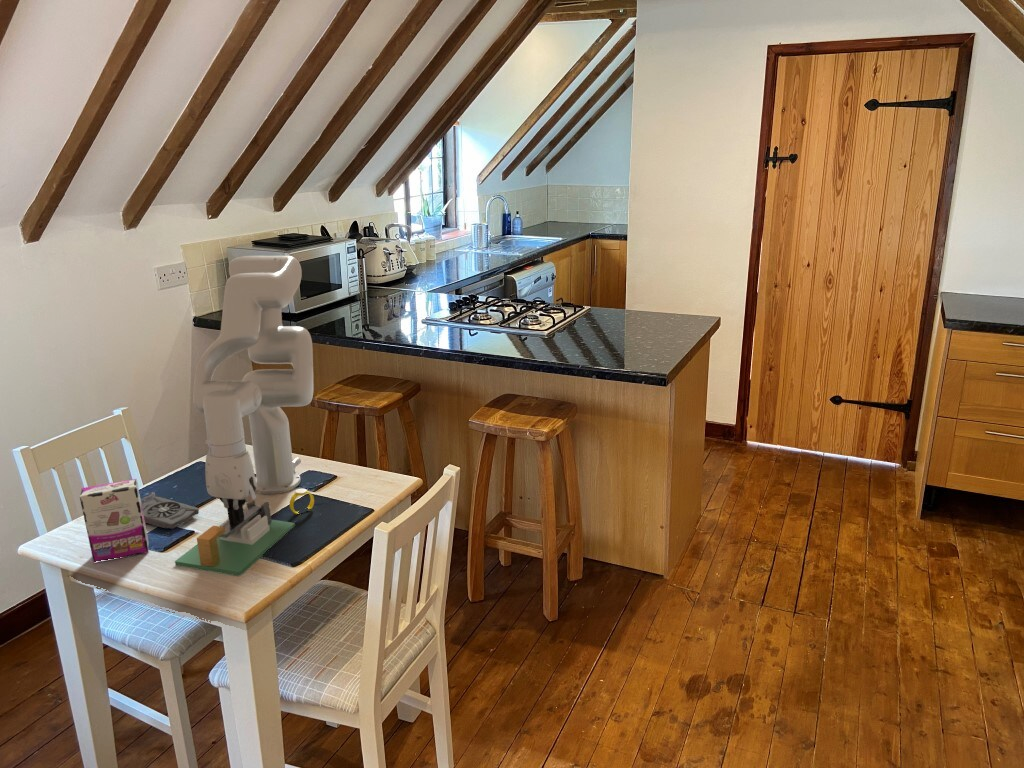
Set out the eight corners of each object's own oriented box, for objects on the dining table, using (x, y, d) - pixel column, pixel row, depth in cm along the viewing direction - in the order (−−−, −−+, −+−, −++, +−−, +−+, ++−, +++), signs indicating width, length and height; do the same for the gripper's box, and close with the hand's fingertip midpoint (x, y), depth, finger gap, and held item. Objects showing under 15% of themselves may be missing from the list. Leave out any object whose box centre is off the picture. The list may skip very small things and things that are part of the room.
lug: (217, 551, 171) (213, 525, 169) (228, 553, 171) (225, 527, 168) (200, 564, 166) (196, 538, 164) (212, 566, 165) (208, 539, 163)
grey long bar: (255, 507, 184) (254, 503, 183) (264, 508, 183) (263, 504, 183) (217, 536, 170) (216, 532, 170) (226, 538, 170) (225, 534, 169)
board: (236, 518, 188) (233, 494, 186) (295, 526, 184) (292, 503, 182) (175, 565, 168) (171, 539, 166) (239, 576, 164) (236, 550, 162)
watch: (310, 507, 194) (310, 485, 192) (316, 511, 192) (315, 489, 190) (288, 514, 190) (287, 491, 188) (293, 518, 188) (293, 495, 186)
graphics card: (111, 512, 185) (152, 490, 195) (114, 526, 186) (155, 503, 197) (162, 527, 178) (202, 504, 188) (164, 542, 180) (204, 518, 190)
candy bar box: (149, 542, 177) (137, 477, 172) (149, 553, 173) (137, 486, 168) (94, 553, 173) (80, 486, 168) (92, 564, 169) (79, 496, 164)
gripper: (186, 449, 168) (197, 526, 173) (247, 457, 164) (256, 534, 169) (208, 437, 175) (218, 511, 180) (267, 444, 171) (275, 519, 176)
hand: (236, 522), depth 175 cm, fingers closed
